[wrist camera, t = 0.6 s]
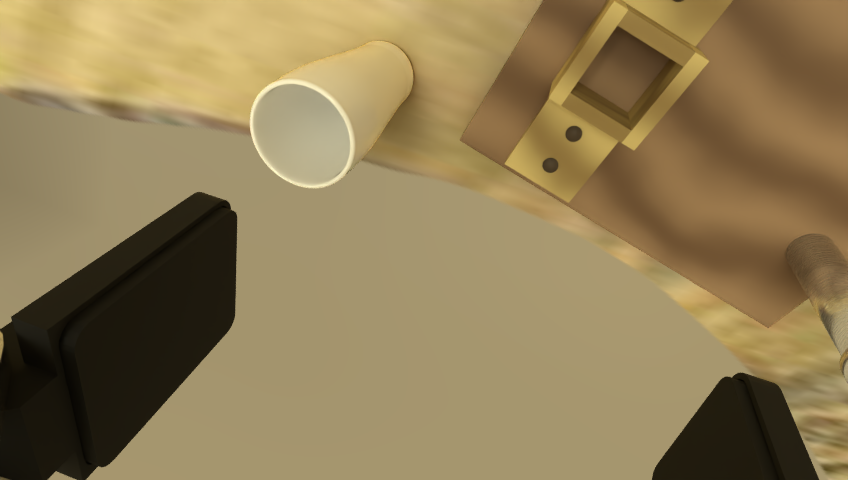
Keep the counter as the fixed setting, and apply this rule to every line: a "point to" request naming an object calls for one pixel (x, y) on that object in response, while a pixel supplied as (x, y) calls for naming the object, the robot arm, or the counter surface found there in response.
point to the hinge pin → (824, 285)
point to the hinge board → (685, 131)
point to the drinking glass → (329, 112)
